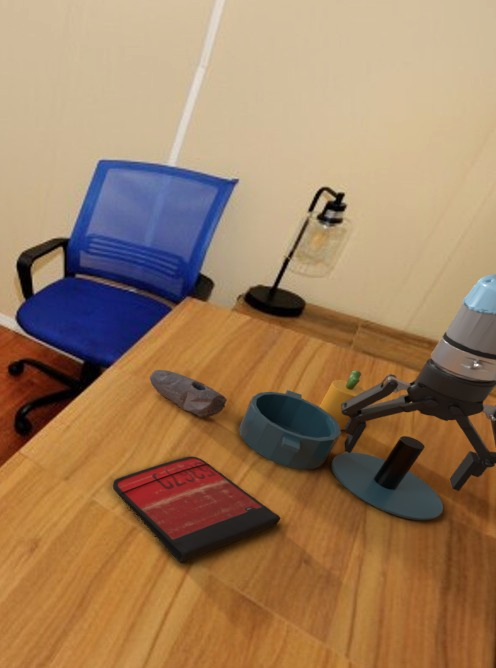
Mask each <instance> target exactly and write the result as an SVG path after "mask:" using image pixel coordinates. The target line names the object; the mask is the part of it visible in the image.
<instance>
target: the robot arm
mask: <svg viewBox="0 0 496 668" xmlns="http://www.w3.org/2000/svg"><path fill="white" fill-rule="evenodd" d="M461 302H462V303H461V305H460V306H459V308H458V310H457V312H456V314H455V315H454V317H453V319H452V320H451V321H450V323H449V325H448V327H447V329H446V330H445V332H444V333H443V335H442V336H441V338H440V339H439V341H438V343H436V346H435V347H434V349H433V351H432V352H431V354H430V358H428V359H427V360H426V362H425V363H424V365H423V366H422V368H421V370H420V371H419V373H418V375H417V376H416V378H415V380H412V381H410V382H406V381H405V380H401V379H398V378H397V375H395V374H392V373H390V374H386V375H385V377H384V378H383V379H382V381H381V382H380V383H378V384H376V385H374V386H372V387H370V388H369V389H366V390H365V392H363V393H361V394H359V395H357V396H355V397H353V398H351V399H349V400H347V401H346V402H344V403H342V404H341V412H342V414H343V415H346V416H349V417H350V419H349V420H348V422H347V424H346V426H345V430H344V432H345V434H347V435H348V436H347V437H346V439H345V441H344V453H351V452H352V451H353V450H354V448H355V447H356V444H357V443H358V442H359V440H360V438H361V436H362V435H363V433H364V431H365V430H366V428H367V422H368V421H373V420H376V419H380V418H385V417H389V416H392V415H397V414H401V413H412V412H416V411H417V412H419V413H420V414H422V415H424V416H430V417H435V418H437V419H439V420H441V421H444V422H448V421H456V423H457V425H458V426H459V428H460V430H462V432H463V433H464V436H465V437H466V439H467V440H468V441H469V443H470V445H471V446H472V449H473V450H474V451H471V450H469V451H468V453H467V454H466V456H465V457H464V458H463V460H462V461H461V462H460V464H459V465H458V466H457V468H456V469H455V470H454V471H453V473H452V474H451V475H450V477H449V483H450V485H451V489H452V490H454V491H457V492H460V490H461V489H462V488H463V486H464V485H465V484H466V483H467V482H468V480H469V479H470V478H471V476H473V477H476V478H479V477H481V476H482V475H483V474H484V473H485V471H486V470H487V469H488V468H493V467H495V465H496V451H490V450H489V448H488V447H487V445H486V443H485V442H484V440H483V439H482V437H481V435H480V434H479V432H478V430H477V429H476V428H475V426H474V424H473V422H472V421H471V420H470V418H469V417H470V416H475V415H477V414H482V413H484V415H485V416H486V417H485V418H487V419H488V420H490V424H491V425H490V426H491V430H492V435H493V440H494V441H493V442H494V445H495V447H496V404H495V405H491V404H487V403H484V402H485V400H487V398H488V397H489V395H490V394H491V393H492V391H493V390H494V389H495V387H496V273H494V274H488V275H485V276H483V277H481V278H479V279H478V281H477V282H476V283H475V284H474V285H473V286H472V288H471V289H470V290H469V292H468V294H467V295H466V296H464V298H463V299H462V301H461ZM400 391H406V393H407V394H402V395H400V396H398V397H397V398H393V399H390V400H389V399H388V400H386V401H383V402H379V403H378V401H381V400H383V399H385V398H387V397H389V396H390V395H391V394H392V393H395V394H396V393H398V392H400Z"/></svg>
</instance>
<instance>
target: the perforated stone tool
mask: <svg viewBox="0 0 496 668" xmlns="http://www.w3.org/2000/svg"><path fill="white" fill-rule="evenodd" d="M149 381H150V384H151V386H152V387H153V389H154V390H156V392H158V393H159V394H160V395H161V396H162V397H164V398H166V399H167V400H169V401H170V402H171V403H172V404H175V405H176V406H178V407H179V408H181V409H182V410H184V411H186V412H189V413H191V414H193V415H196V416H197V417H199V418H206V417H213V416H215V415H218V414H220V413H221V412H222V411H223V409H224V408H226V403H227V401H228V399H227V398H226V397H225V396H224V395H223V394H222V393H220V392H219V391H216V390H215V389H213V388H212V387H210V386H208V385H207V384H204V383H202V382H201V381H199V380H196V379H194V378H191V377H189V376H186V375H183V374H180V373H178V372H175V371H171V370H168V369H167V370H166V369H155V370H153V371H152V373H151V374H150V375H149Z"/></svg>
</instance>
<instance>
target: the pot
mask: <svg viewBox="0 0 496 668" xmlns="http://www.w3.org/2000/svg"><path fill="white" fill-rule="evenodd" d="M319 406H320V405H316V404H314V403H313V402H311V401H308V400H306V399H305V398H302V393H298V392H295V391H291V390H289V389H287V390H286V391H285V392H284V393H283V392H278V391H277V392H276V391H263V392H262V391H261V392H258V393H257V394H255V395H253V396H252V397H251V399H250V401H249V404H248V406H247V408H246V410H245V412H244V414H243V417H242V419H241V422H240V426H239V429H238V430H239V431H238V432H239V434H240V437H241V438H242V440H243V441H244V443H245V444H246V445H247V446H248V447H249V448H250V449H252V450H253V451H254V452H255V453H257V454H259V455H260V456H262V457H263V458H265V459H267V460H269V461H271V462H273V463H276V464H278V465H281V466H283V467H287V468H290V469H291V468H292V469H294V470H305V471H307V470H310V471H311V470H316V469H318V468H320V467H321V466H323V464H324V463H325V462H327V459H328V458H329V455H330V454H331V452H332V450H333V449H334V448H335V445H336V444H337V442H338V440H339V438H340V436H341V435H342V434H341V433H342V432H341V431H342V430H340V425H339V424H338V423H337V421H336V420H335V419H334V418H333V417H332V416H331V415H330V414H328V413H327V412H326V411H324V410H323V409H322V408H320V407H319Z"/></svg>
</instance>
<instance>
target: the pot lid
mask: <svg viewBox="0 0 496 668" xmlns="http://www.w3.org/2000/svg"><path fill="white" fill-rule="evenodd" d="M425 447H426V446H425V444H424V443H423V442H421V441H420V440H419V439H417V438H414V437H412V436H407V435H403V436H400V437H399V439H398V440H397V442H396V443H395V445H394V446H393V448H391V449H392V450H391V451H390V453H389V454H388V456H386V459H384V458H381V457H377V456H375V455H370V454H367V453H361V452H352V451H351V453H348V452H341V453H339V454H337V455H335V456H334V457H333V459H332V460H331V464H330V465H331V471H332V473H333V475H334V476H335V478H336V479H337V480H338V481H339V482H340V483H341V485H342V486H343V487H345V489H347V490H348V491H349V492H351V493H352V494H353V495H355V496H356V497H357V498H358V499H360V500H362V501H363V502H366V503H367V504H369V505H371V506H373V507H375V508H377V509H379V510H381V511H383V512H386V513H388V514H391V515H393V516H397V517H400V518H404V519H409V520H415V521H431V520H435V519H437V518H439V517H440V516H441V515H442V513H443V510H444V505H443V501H442V499H441V498H440V495H438V493H437V492H436V491H435V490H434V489H433V487H431V486H430V485H429V484H428V483H427V482H425V481H424V480H423V479H421V478H420V477H419V476H418V475H416V474H415V473H412V472H411V471H410V469H411V468H412V467H413V466H414V464H415V463H416V461H417V459H418V458H419V456H420V455H421V454H422V453H423V451H424V449H425Z"/></svg>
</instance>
